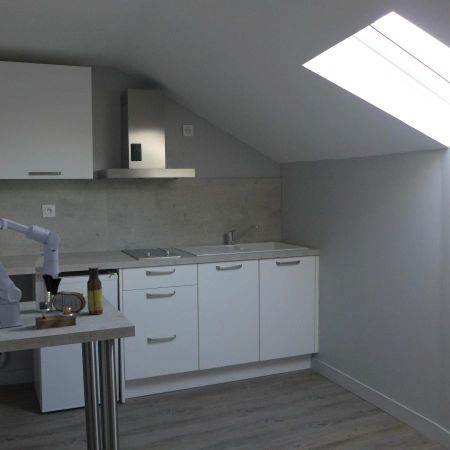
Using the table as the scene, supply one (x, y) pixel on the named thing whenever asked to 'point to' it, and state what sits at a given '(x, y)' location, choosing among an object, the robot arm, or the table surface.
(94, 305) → the sauce bottle
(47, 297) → the water bottle
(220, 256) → the table surface
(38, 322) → the stand
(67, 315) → the copper plunger
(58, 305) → the tin
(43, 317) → the chrome threaded knob
